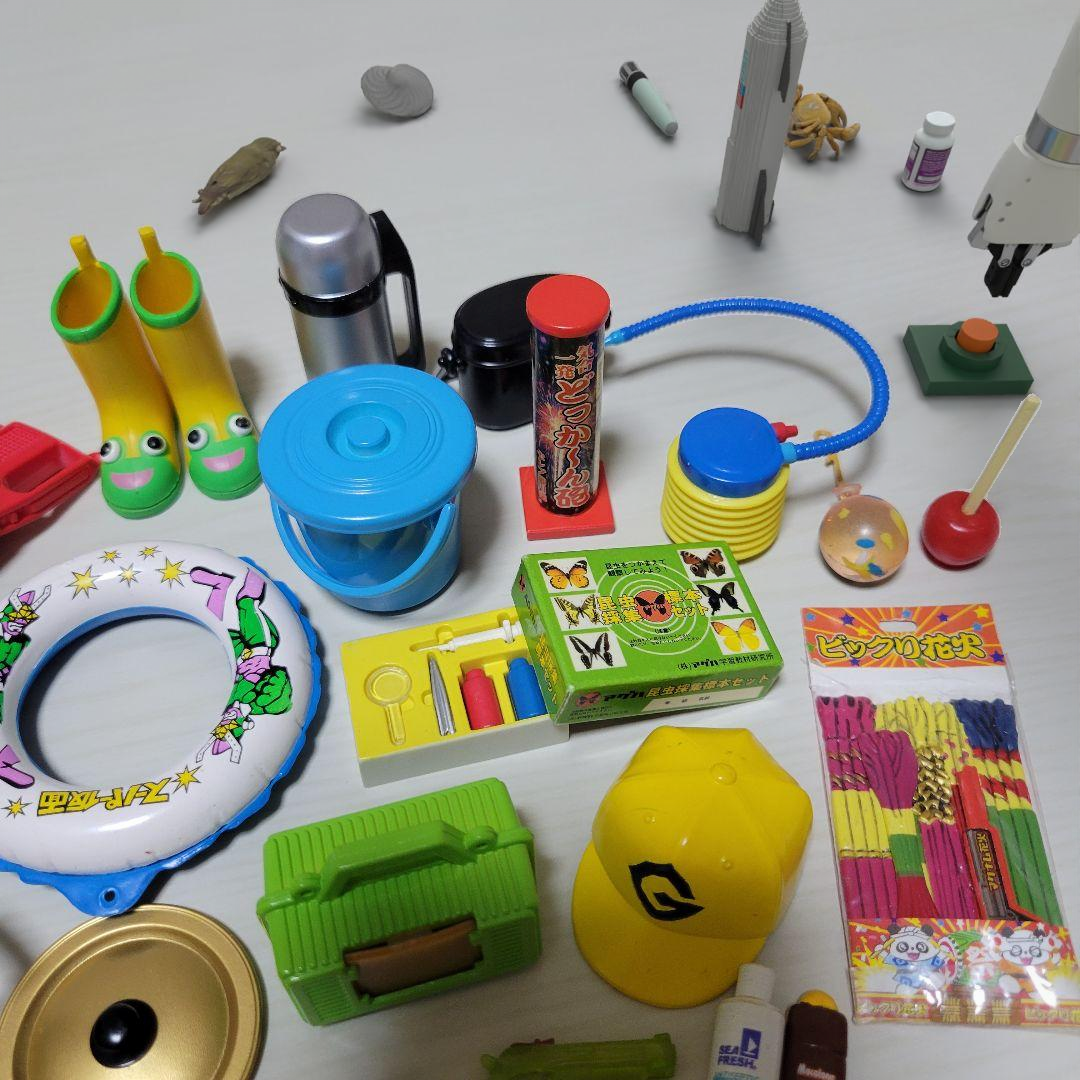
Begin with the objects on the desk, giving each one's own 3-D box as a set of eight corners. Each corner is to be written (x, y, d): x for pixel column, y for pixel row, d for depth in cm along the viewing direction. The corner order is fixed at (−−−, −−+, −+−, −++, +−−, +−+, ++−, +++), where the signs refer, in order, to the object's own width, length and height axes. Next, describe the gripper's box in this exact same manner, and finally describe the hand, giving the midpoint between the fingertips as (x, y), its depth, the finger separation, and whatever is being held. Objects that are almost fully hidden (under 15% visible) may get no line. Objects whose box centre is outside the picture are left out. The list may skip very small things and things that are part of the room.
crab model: (874, 156, 142) (885, 121, 137) (796, 169, 139) (804, 134, 135) (827, 104, 151) (836, 70, 146) (753, 116, 148) (760, 81, 144)
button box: (999, 337, 116) (1012, 311, 113) (1026, 394, 110) (1041, 368, 107) (902, 339, 116) (912, 313, 113) (924, 396, 110) (935, 370, 107)
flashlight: (692, 126, 144) (645, 65, 155) (670, 117, 141) (624, 55, 153) (680, 146, 146) (635, 83, 157) (658, 137, 143) (614, 74, 155)
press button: (985, 331, 112) (992, 317, 110) (996, 354, 109) (1003, 340, 108) (952, 331, 112) (958, 318, 110) (961, 354, 109) (968, 341, 108)
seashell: (356, 96, 153) (366, 118, 146) (356, 59, 149) (365, 79, 142) (427, 97, 156) (440, 119, 149) (428, 61, 152) (441, 81, 146)
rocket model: (783, 244, 128) (837, 11, 104) (733, 250, 127) (776, 17, 104) (750, 186, 137) (793, -41, 113) (702, 192, 136) (735, -36, 112)
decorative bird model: (300, 160, 142) (293, 128, 138) (211, 229, 131) (201, 197, 127) (273, 151, 143) (266, 119, 139) (183, 219, 133) (172, 187, 129)
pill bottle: (945, 181, 137) (968, 117, 130) (927, 197, 135) (950, 132, 127) (911, 167, 139) (932, 104, 132) (893, 183, 137) (914, 119, 129)
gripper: (1132, 112, 92) (1050, 267, 107) (980, 113, 92) (919, 269, 107) (1163, 154, 88) (1074, 311, 103) (1004, 156, 88) (937, 312, 103)
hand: (995, 289), depth 105 cm, fingers closed
